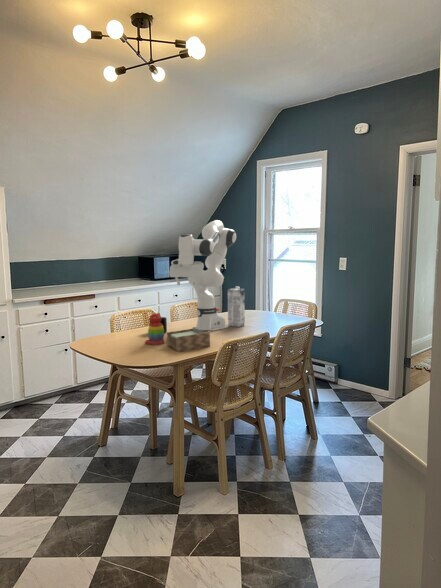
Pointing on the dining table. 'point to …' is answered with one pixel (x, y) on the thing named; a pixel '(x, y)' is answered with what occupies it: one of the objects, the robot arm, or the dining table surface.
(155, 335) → the stacking bear
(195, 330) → the cover plate
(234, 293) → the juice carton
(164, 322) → the black flat block
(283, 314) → the dining table surface
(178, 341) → the walnut box
